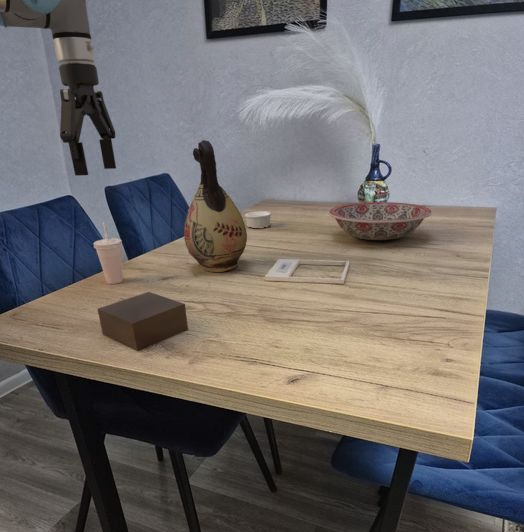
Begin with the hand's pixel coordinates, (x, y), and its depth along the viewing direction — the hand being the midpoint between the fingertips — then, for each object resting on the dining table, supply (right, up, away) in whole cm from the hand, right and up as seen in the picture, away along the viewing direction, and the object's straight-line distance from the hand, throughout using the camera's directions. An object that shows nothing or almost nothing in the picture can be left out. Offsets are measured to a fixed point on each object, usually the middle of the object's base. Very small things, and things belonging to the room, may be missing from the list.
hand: (96, 171), depth 108 cm
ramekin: (+37, +1, +54) cm, 65 cm away
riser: (+17, -38, -22) cm, 47 cm away
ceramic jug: (+27, -20, +11) cm, 36 cm away
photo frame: (+49, -22, +5) cm, 54 cm away
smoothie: (+3, -25, +5) cm, 25 cm away
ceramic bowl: (+72, -8, +33) cm, 80 cm away
